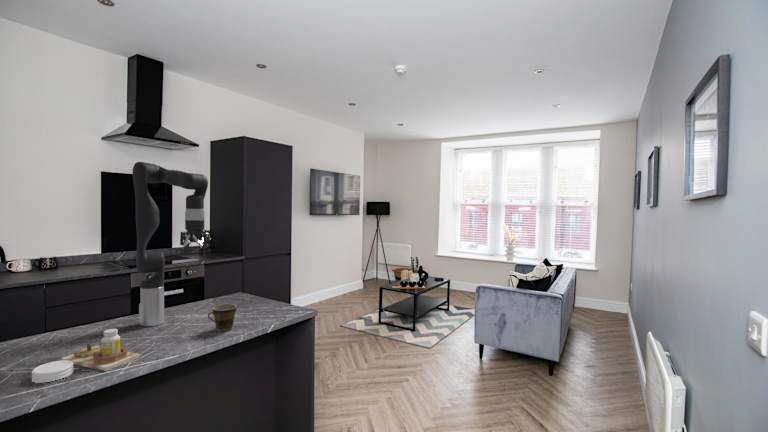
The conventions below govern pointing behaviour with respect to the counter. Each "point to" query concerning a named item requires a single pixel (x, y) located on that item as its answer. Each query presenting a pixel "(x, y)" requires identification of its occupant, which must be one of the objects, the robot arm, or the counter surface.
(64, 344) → the counter surface
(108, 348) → the supplement bottle
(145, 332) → the counter surface
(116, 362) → the gear board
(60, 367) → the coaster
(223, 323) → the ceramic cup
